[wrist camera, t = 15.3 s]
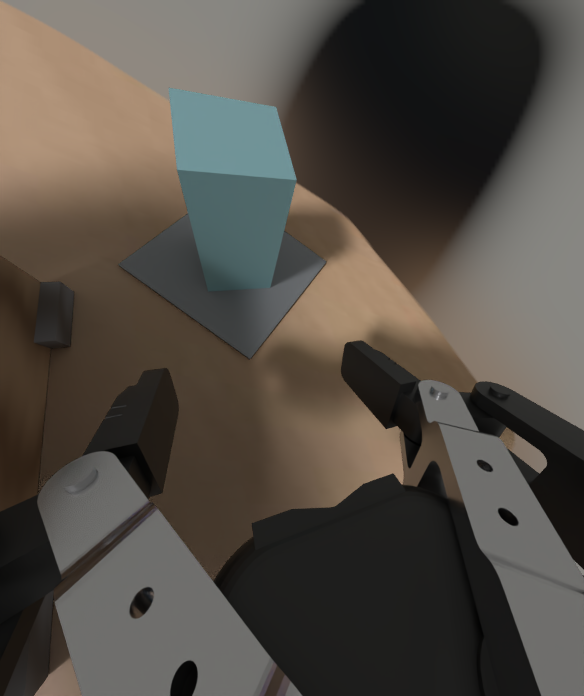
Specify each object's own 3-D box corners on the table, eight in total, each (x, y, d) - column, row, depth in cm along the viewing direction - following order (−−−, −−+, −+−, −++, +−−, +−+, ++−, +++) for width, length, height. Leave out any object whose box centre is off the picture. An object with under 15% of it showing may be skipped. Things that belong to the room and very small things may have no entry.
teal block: (270, 287, 18) (296, 180, 10) (208, 291, 17) (177, 169, 8) (260, 239, 19) (275, 107, 11) (201, 239, 18) (168, 87, 10)
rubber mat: (249, 359, 16) (250, 358, 16) (119, 266, 16) (118, 264, 16) (325, 263, 21) (326, 261, 20) (224, 188, 20) (224, 186, 20)
